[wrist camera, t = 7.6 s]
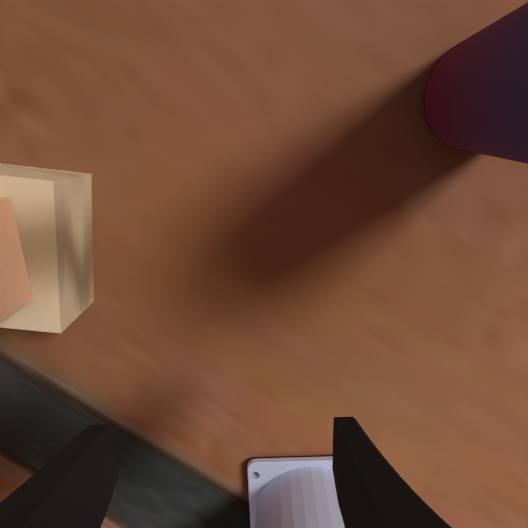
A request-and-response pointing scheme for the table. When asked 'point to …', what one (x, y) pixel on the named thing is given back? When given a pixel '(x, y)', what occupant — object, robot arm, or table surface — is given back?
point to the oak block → (51, 244)
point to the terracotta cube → (11, 263)
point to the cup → (484, 91)
